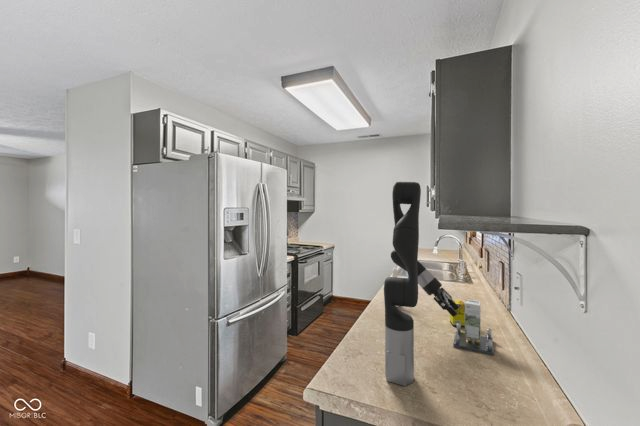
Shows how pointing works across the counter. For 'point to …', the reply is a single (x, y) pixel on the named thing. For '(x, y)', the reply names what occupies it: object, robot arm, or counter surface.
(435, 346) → the counter surface
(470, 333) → the syrup box
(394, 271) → the cosmetic bottle
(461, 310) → the supplement box
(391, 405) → the counter surface
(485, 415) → the counter surface
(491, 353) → the chassis plate
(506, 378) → the counter surface
